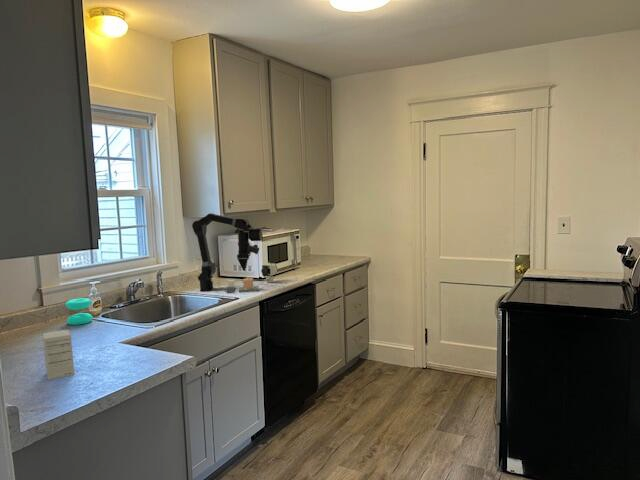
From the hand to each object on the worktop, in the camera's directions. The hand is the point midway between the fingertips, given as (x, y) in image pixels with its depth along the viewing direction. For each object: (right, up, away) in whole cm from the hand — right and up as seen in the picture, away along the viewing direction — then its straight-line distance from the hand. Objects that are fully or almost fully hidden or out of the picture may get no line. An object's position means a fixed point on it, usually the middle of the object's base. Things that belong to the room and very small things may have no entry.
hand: (244, 269), depth 263 cm
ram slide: (-9, -10, +6) cm, 15 cm away
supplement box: (-37, -25, -118) cm, 127 cm away
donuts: (-63, -20, -57) cm, 87 cm away
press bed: (+2, -12, -1) cm, 12 cm away
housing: (+2, -11, -1) cm, 11 cm away
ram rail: (-8, -12, +1) cm, 14 cm away
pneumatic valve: (+12, -9, +21) cm, 26 cm away
